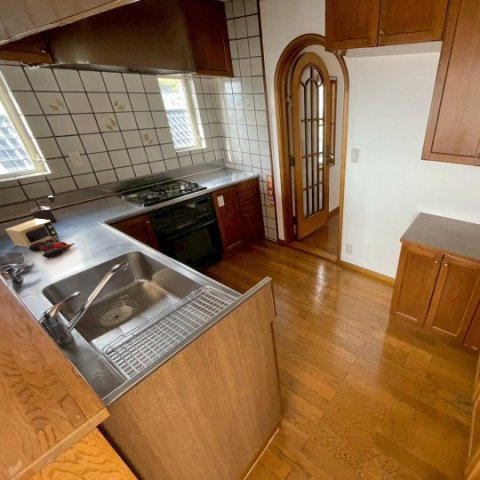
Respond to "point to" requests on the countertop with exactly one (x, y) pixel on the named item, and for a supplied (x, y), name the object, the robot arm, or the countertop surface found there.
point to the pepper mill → (44, 211)
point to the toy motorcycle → (50, 247)
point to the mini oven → (32, 232)
